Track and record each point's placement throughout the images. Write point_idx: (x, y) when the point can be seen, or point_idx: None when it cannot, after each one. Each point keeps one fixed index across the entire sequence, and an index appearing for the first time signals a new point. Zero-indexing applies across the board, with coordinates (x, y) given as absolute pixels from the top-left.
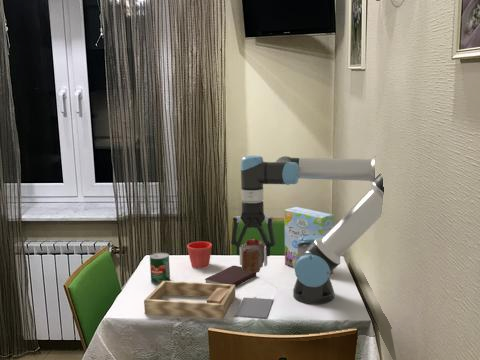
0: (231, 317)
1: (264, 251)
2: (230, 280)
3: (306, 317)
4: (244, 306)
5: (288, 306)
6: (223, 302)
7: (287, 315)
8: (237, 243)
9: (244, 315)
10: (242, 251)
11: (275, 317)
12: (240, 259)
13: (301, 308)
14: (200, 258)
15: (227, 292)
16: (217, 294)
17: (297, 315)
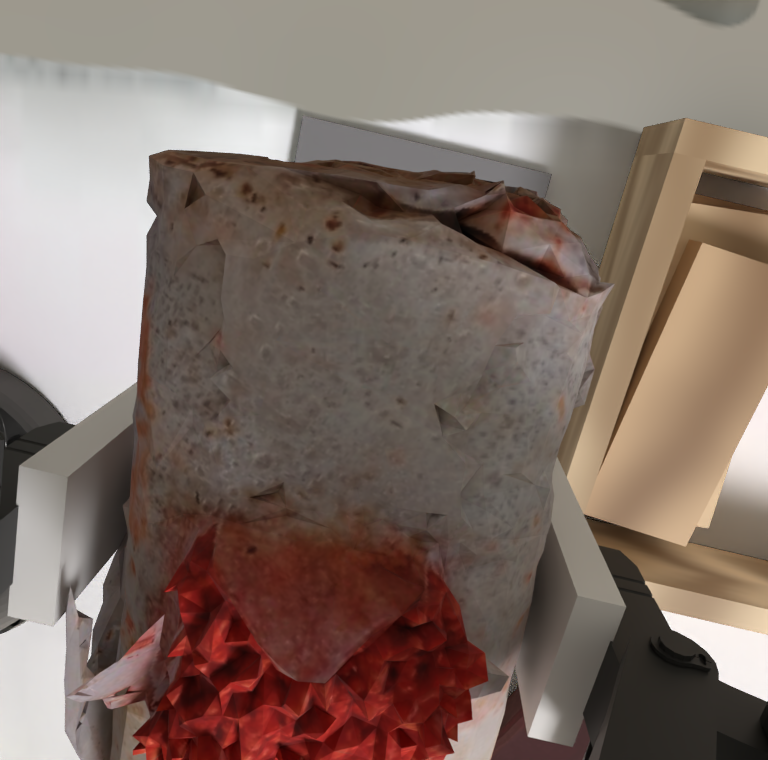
0: (576, 158)
1: (91, 446)
2: (546, 748)
3: (2, 119)
4: None
5: (134, 330)
6: (675, 185)
7: (143, 166)
8: (698, 683)
9: (473, 165)
10: (591, 264)
11: (234, 135)
12: (555, 479)
13: (40, 287)
14: None
15: (614, 417)
16: (704, 401)
17: (69, 161)
